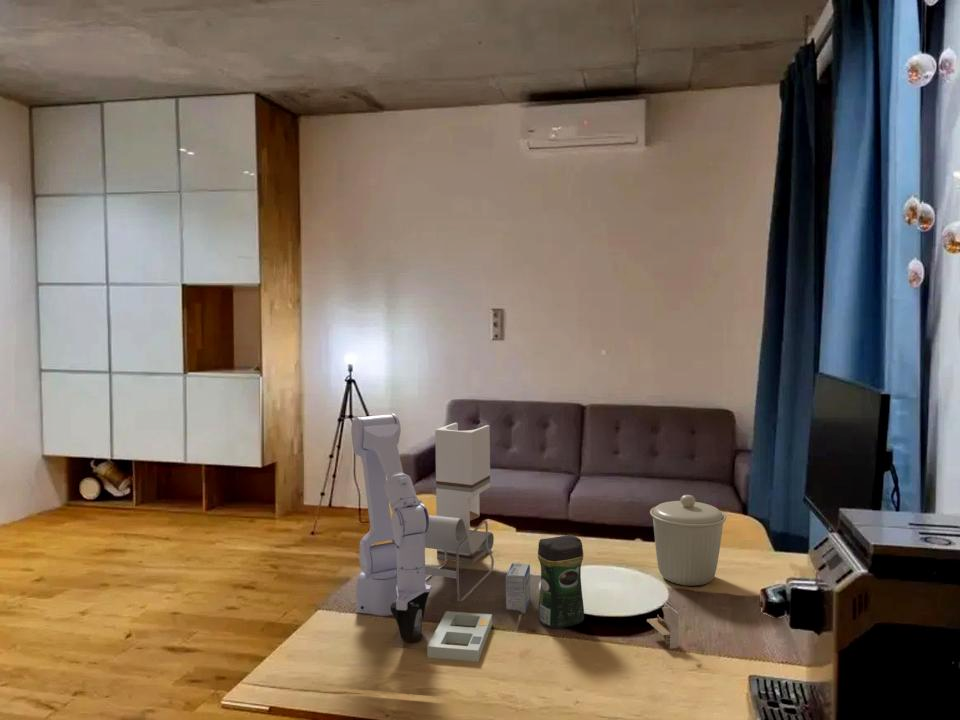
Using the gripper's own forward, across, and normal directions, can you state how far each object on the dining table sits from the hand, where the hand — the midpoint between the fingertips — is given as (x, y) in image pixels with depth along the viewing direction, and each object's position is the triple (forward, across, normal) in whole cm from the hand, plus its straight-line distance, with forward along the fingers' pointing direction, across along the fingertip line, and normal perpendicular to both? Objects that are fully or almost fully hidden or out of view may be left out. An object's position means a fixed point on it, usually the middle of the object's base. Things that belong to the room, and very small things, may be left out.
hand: (412, 629), depth 150 cm
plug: (+2, 0, 0) cm, 2 cm away
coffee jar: (+3, +15, -29) cm, 33 cm away
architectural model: (+3, +9, -51) cm, 52 cm away
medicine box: (+3, +21, -19) cm, 28 cm away
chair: (+3, +32, -1) cm, 32 cm away
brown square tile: (+3, 0, 0) cm, 3 cm away
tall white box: (+3, +52, 0) cm, 52 cm away
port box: (+3, +1, -10) cm, 10 cm away
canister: (+3, +44, -58) cm, 73 cm away
